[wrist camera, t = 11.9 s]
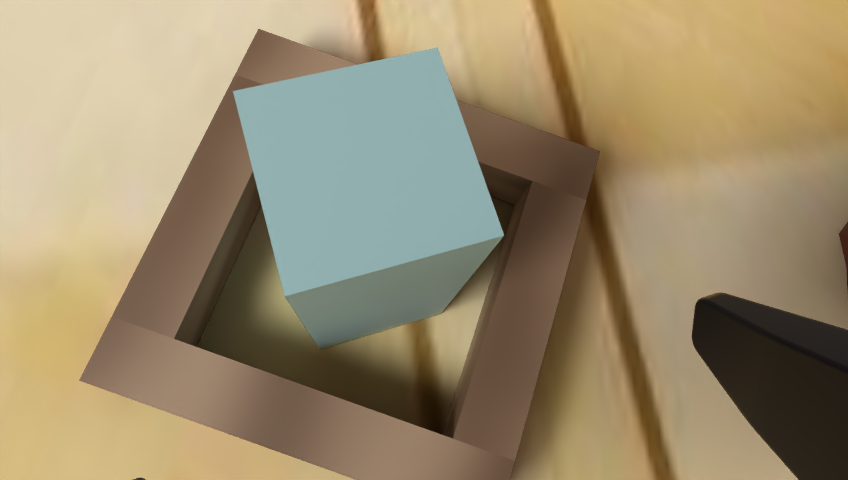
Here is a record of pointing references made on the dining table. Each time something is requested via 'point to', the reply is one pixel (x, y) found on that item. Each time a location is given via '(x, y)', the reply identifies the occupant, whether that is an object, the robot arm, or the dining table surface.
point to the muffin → (845, 245)
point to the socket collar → (309, 408)
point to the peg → (368, 193)
